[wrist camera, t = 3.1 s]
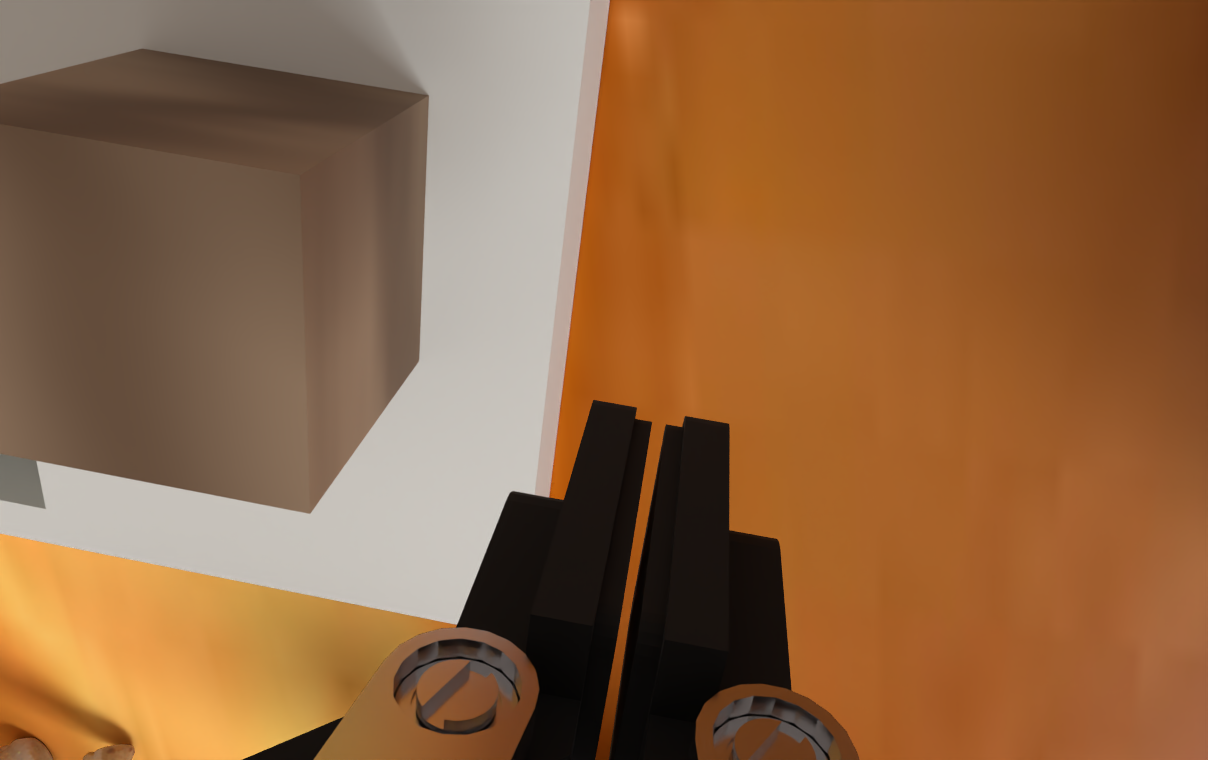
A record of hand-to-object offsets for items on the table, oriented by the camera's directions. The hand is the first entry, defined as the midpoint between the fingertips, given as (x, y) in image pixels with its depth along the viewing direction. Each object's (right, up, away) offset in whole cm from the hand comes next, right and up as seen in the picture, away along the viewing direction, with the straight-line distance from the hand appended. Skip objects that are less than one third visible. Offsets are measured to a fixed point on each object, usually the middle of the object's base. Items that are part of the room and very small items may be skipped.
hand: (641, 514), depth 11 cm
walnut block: (-6, +5, +5) cm, 9 cm away
